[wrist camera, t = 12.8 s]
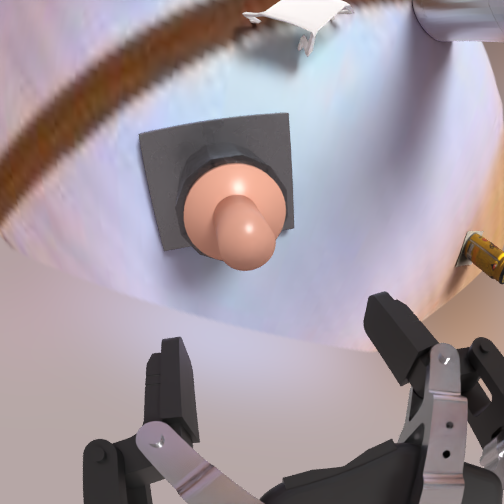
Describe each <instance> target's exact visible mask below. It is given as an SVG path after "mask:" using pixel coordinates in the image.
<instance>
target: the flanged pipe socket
mask: <svg viewBox="0 0 504 504" xmlns="http://www.w3.org/2000/svg"><path fill="white" fill-rule="evenodd" d="M139 140H140V145H141V151H142V156H143V162H144V167H145V172H146V177H147V181H148V186H149V191H150V195H151V200H152V204H153V208H154V213H155V217H156V221H157V225H158V229H159V233H160V237H161V241H162V245H163V248H164V251H168V250H173V249H179V248H184V247H189V246H192V247H193V248H194V249H195V250H196V251H197V252H198V253H199V254H200V255H204V256H207V257H210V256H208V255H206V254H204V253H203V252H201V251H200V250H199V249H198V248H197V247H196V246H195V245H194V244H193V243H192V241H191V240H190V238H189V236H188V234H187V232H186V229H185V225H184V205H185V200H186V197H187V194H188V192H189V190H190V188H191V187H192V185H193V184H194V183H195V181H196V180H197V179H198V178H199V177H200V176H201V175H202V174H204V173H205V172H207V171H208V170H210V169H212V168H214V167H216V166H219V165H222V164H227V163H244V164H249V165H252V166H255V167H257V168H259V169H261V170H262V171H264V172H265V173H267V174H268V175H269V176H270V177H271V178H272V179H273V180H274V181H275V182H276V184H277V185H278V186H279V188H280V190H281V191H282V194H283V196H284V200H285V205H286V216H285V221H284V225H283V228H282V230H287V229H293V228H294V207H293V182H292V161H291V143H290V128H289V113H270V114H257V115H247V116H237V117H229V118H221V119H214V120H207V121H200V122H194V123H188V124H183V125H177V126H172V127H167V128H162V129H157V130H152V131H148V132H144V133H140V134H139ZM275 241H276V240H275ZM210 258H212V257H210ZM214 259H215V258H214ZM217 260H218V259H217ZM221 261H222V260H221Z"/></svg>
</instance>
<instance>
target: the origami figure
mask: <svg viewBox="0 0 504 504" xmlns="http://www.w3.org/2000/svg"><path fill="white" fill-rule="evenodd" d="M344 7H346V8H347V9H348V10H341V9H342V8H344ZM340 10H341V11H340ZM353 13H354V11H353V9H352V8H351V6H350V4H348V3H347V2H344V1H341V0H281V1H279V2H278V3H276V4H275V5H273V6H272V7H271V8H269V9H268V10H266V11H265V12H261V13H250V12H245V13H242V14H243V15H244V17H246V18H249V19H251V20H250V22H251V23H259V22H261V21H260V20H258V19H257V18H255V17H258V16H265V17H268V18H272V19H276V20H280V21H284V22H287V23H290V24H293V25H296V26H298V27H301V28H303V29H306V30H308V31H310V32H311V34H310V37H309V41H308V40H307V38H306V36H305V35H303V36H302V37H301V39H300V42H299V45H298V50H299V51H300V50H301V49H302V48H303V47H304V51H305V54H306V55H307V57H308V56H309V55H310V54H311V52H312V51H313V47H314V42H315V37H316V34H317V32H318V31H319V30H320V29H321V28H322V27H323V26H324V25H325V24H326V23H327V22H328V21H329V20H330V19H331V20H334V16H335V15H336V14H353Z"/></svg>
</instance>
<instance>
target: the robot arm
mask: <svg viewBox="0 0 504 504" xmlns="http://www.w3.org/2000/svg"><path fill="white" fill-rule="evenodd" d="M413 8H414V12H415V15H416V17H417V19H418V21H419V23H420V24H421V26H422V27H423V29H424V30H425V31H426V32H427V33H428V34H429V35H430V36H431V37H432V38H434V39H436V40H438V41H443V42H445V41H489V42H504V0H413ZM364 329H365V332H366V334H367V335H368V337H369V338H370V340H371V341H372V343H373V344H374V346H375V347H376V349H377V350H378V352H379V353H380V355H381V356H382V358H383V359H384V361H385V362H386V364H387V365H388V367H389V369H390V370H391V371H392V373H393V375H394V376H395V378H396V379H397V381H398V383H399V384H400V386H403V385H405V384H407V383H410V384H411V388H410V393H409V400H408V407H407V413H406V419H405V424H404V428H403V430H402V432H401V434H400V437H399V440H398V443H394V442H393V440H392V439H390V440H388V441H386V442H384V443H382V444H379V445H377V446H375V447H373V448H371V449H368V450H367V451H365V452H364V453H363V454H361V455H360V456H358V457H357V458H355V459H354V460H353V461H351V462H350V463H348V464H347V465H345V466H343V467H337V468H328V469H317V470H310V471H307V472H303V473H299V474H296V475H292V476H288V477H285V478H283V482H282V483H280V484H279V485H277V486H275V487H273V488H272V489H270V490H269V491H268V492H266V493H265V494H264V495H263V496H262V497H261V498H260V499H259V500H258V499H257V498H255V497H254V496H252V495H251V494H250V493H248V492H247V491H246V490H244V489H243V488H242V487H240V486H239V485H237V484H236V483H235V482H234V481H232V480H231V479H230V478H228V477H227V476H226V475H225V474H223V473H222V472H221V471H220V470H218V469H217V468H216V467H214V466H213V465H211V464H210V463H208V462H207V461H206V460H205V459H204V458H203V457H201V456H200V455H199V454H198V453H197V452H196V451H195V450H194V449H193V443H198V442H200V439H199V431H198V422H197V413H196V402H195V392H194V381H193V380H194V379H193V370H192V366H191V361H190V359H189V356H188V353H187V351H186V348H185V346H184V343H183V340H182V338H181V337H175V338H168V339H163V340H162V345H161V346H162V347H161V353H154V354H152V355H151V357H150V359H149V361H148V363H147V367H146V383H145V385H146V387H145V405H144V422H143V425H142V427H141V428H140V429H139V430H138V432H137V434H135V435H134V436H132V437H130V438H128V439H125V440H122V441H119V442H116V443H113V444H112V443H110V442H109V441H107V440H103V439H97V440H93V441H91V442H90V443H89V444H88V445H87V446H86V448H85V450H84V453H83V454H84V455H83V497H84V504H153V503H152V497H151V489H150V484H151V483H154V482H156V481H160V480H162V479H166V480H167V481H168V482H169V483H170V484H171V485H172V486H173V487H174V488H175V489H176V490H177V492H178V494H179V495H180V496H181V497H182V498H183V499H184V500H185V501H186V502H187V503H188V504H502V495H503V490H504V357H503V355H502V354H501V353H500V352H499V350H498V349H497V348H496V346H495V345H494V344H493V343H492V342H491V341H490V340H488V339H486V338H483V337H479V338H476V339H475V340H474V341H473V343H472V345H471V346H470V347H467V348H461V349H455V348H454V347H453V346H451V345H450V344H446V343H439V342H438V341H437V340H436V339H435V338H434V337H433V335H432V334H431V333H430V332H429V331H428V329H427V328H426V327H425V326H424V325H423V323H422V322H421V321H419V319H418V318H417V316H416V315H415V314H413V312H412V311H411V310H410V308H409V307H408V306H407V305H406V304H404V303H402V302H400V301H399V300H394V299H393V298H392V297H391V296H390V295H389V294H388V293H387V292H385V291H384V292H381V293H377V294H374V295H371V296H369V298H368V302H367V307H366V312H365V317H364ZM480 378H481V379H482V380H483V382H484V383H485V384H486V386H487V388H488V389H489V391H490V392H491V394H492V402H491V401H490V400H489V398H488V397H487V395H486V393H485V392H484V390H483V389H482V387H481V386H480V384H479V383H478V381H479V379H480ZM467 421H468V423H469V424H470V426H471V428H472V430H473V432H474V434H475V435H476V437H477V439H478V441H479V443H480V445H481V447H482V449H483V454H482V457H481V458H480V464H481V465H482V466H484V468H481V467H478V466H475V465H472V464H469V463H466V462H464V457H465V448H466V436H467Z"/></svg>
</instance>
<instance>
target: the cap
mask: <svg viewBox="0 0 504 504" xmlns="http://www.w3.org/2000/svg"><path fill="white" fill-rule="evenodd" d="M285 216H286V205H285V200H284V196H283V194H282V191H281V190H280V188H279V186H278V185H277V184H276V182H275V181H274V180H273V179H272V178H271V177H270V176H269V175H268V174H267V173H265V172H264V171H262V170H261V169H259V168H257V167H255V166H252V165H249V164H244V163H227V164H222V165H219V166H216V167H214V168H212V169H210V170H208V171H207V172H205V173H204V174H202V175H201V176H200V177H199V178H198V179H197V180H196V181H195V183H194V184H193V185H192V187H191V188H190V190H189V192H188V194H187V197H186V200H185V205H184V225H185V229H186V232H187V234H188V236H189V238H190V240H191V241H192V243H193V244H194V245H195V246H196V247H197V248H198V249H199V250H200V251H201V252H203V253H204V254H206V255H208V256H210V257H212V258H215V259H218V260H222V261H224V262H225V263H226V264H227V265H228V266H230V267H231V268H233V269H236V270H241V271H248V270H254V269H256V268H259V267H261V266H262V265H264V264H265V263H266V262H267V261H268V260H269V259H270V258H271V256H272V255H273V253H274V250H275V244H276V241H275V240H276V239H277V237H278V236H279V234H280V232H281V230H282V228H283V225H284V221H285Z"/></svg>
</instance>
